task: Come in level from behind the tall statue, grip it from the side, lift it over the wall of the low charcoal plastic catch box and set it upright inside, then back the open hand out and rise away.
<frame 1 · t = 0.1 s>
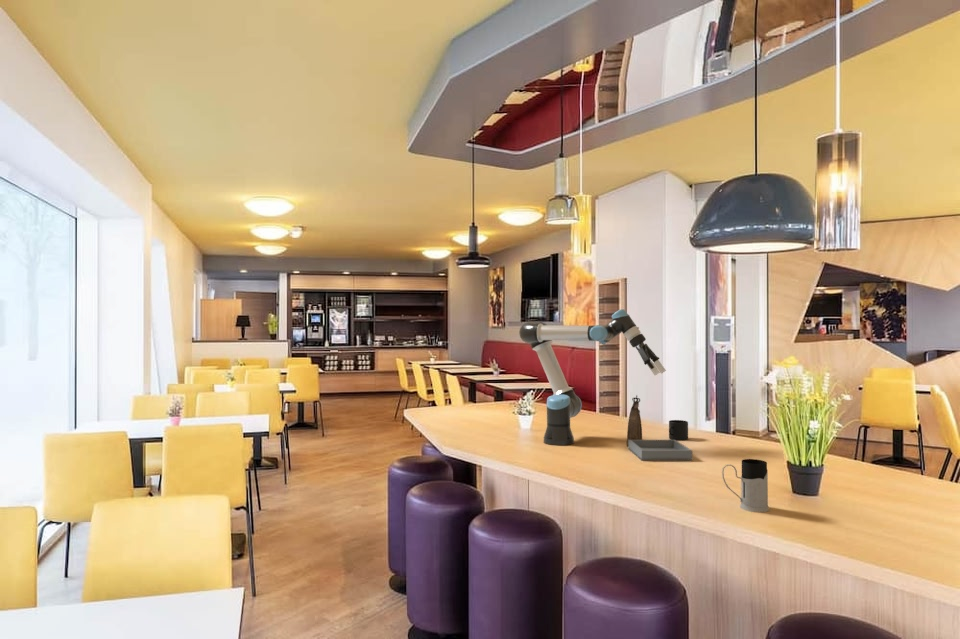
hand: (660, 373, 293), 36 cm above the bar counter, tool tilted 35°, fingers open, 13 cm apart
mug: (676, 439, 312), on the bar counter
statue: (634, 446, 295), on the bar counter
glass holder: (745, 508, 196), on the bar counter
catch box: (659, 454, 275), on the bar counter
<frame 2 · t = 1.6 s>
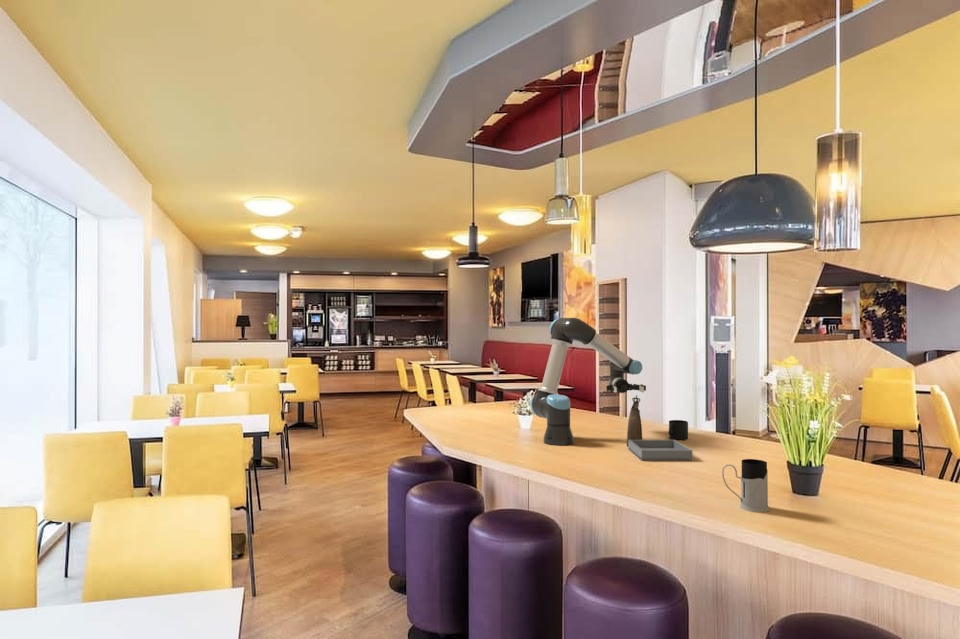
hand: (629, 389, 304), 26 cm above the bar counter, tool horizontal, fingers open, 13 cm apart
nothing on the bar counter moved.
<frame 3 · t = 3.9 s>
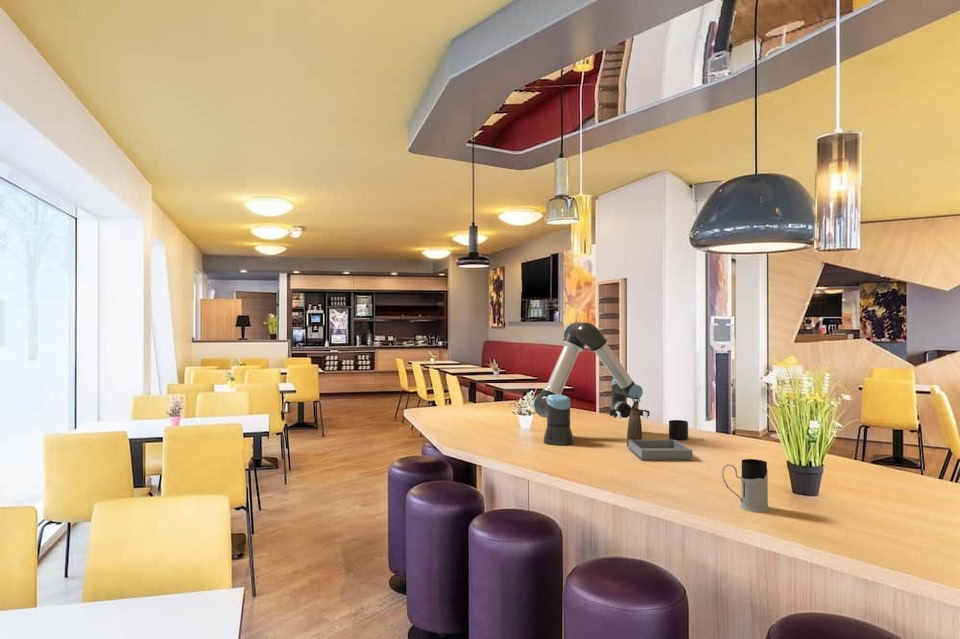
hand: (633, 415, 300), 14 cm above the bar counter, tool horizontal, fingers open, 13 cm apart
nothing on the bar counter moved.
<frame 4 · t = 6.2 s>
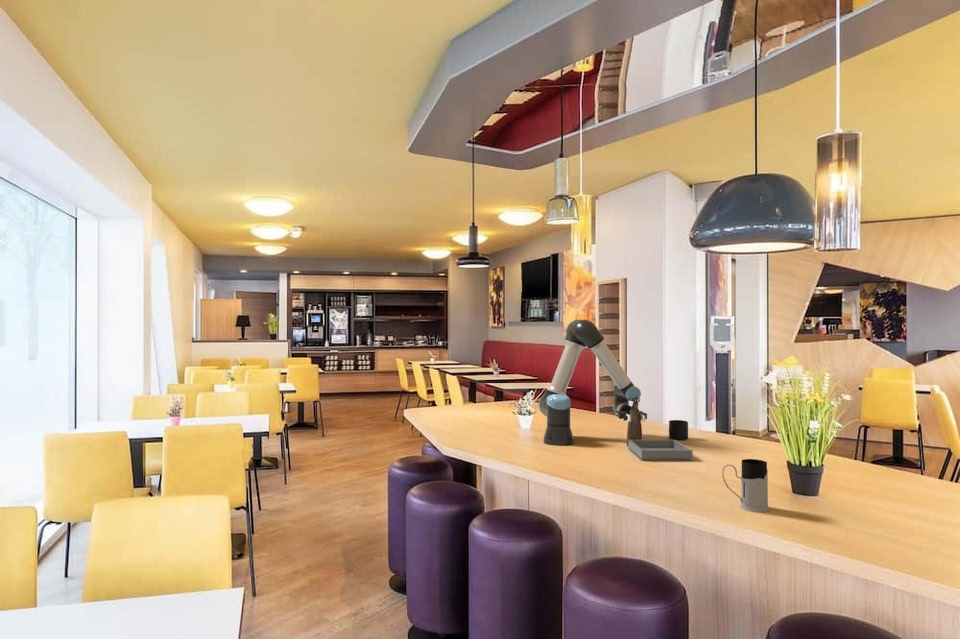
hand: (637, 418, 290), 14 cm above the bar counter, tool horizontal, fingers closed on statue, 6 cm apart
statue: (634, 446, 295), on the bar counter, touching gripper
everything else where it was.
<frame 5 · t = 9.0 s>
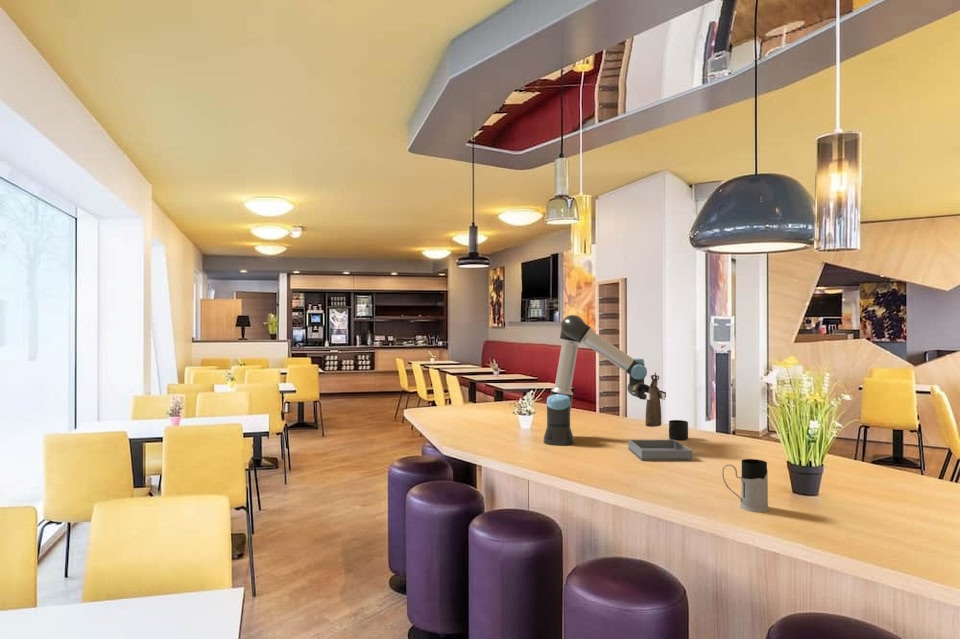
hand: (656, 396, 278), 26 cm above the bar counter, tool horizontal, fingers closed on statue, 6 cm apart
statue: (653, 425, 283), point 12 cm above the bar counter, touching gripper
everything else where it was.
when the fingers open (16 cm above the bar counter, at t = 11.8 s): statue drops 1 cm, resting on catch box.
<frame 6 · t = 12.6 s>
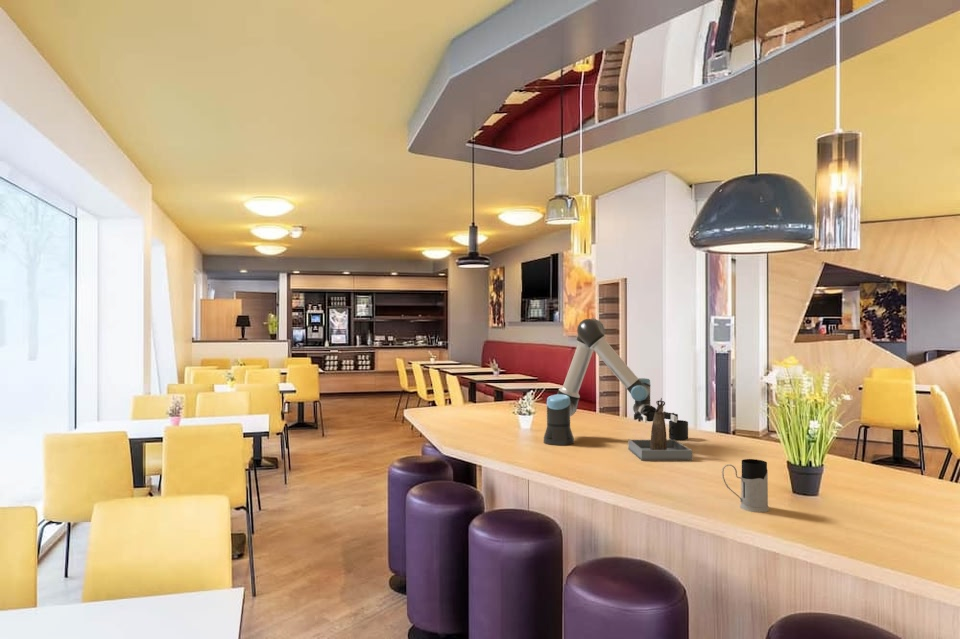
hand: (660, 419, 272), 16 cm above the bar counter, tool horizontal, fingers open, 13 cm apart
statue: (658, 452, 275), point 1 cm above the bar counter, touching catch box
everything else where it was.
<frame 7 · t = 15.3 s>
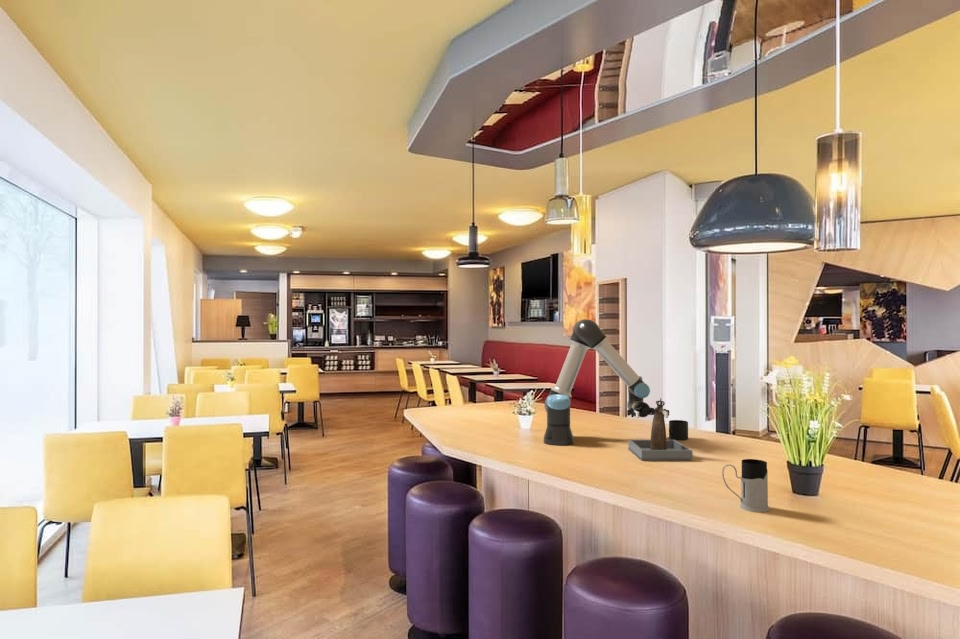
hand: (652, 415, 284), 17 cm above the bar counter, tool horizontal, fingers open, 13 cm apart
nothing on the bar counter moved.
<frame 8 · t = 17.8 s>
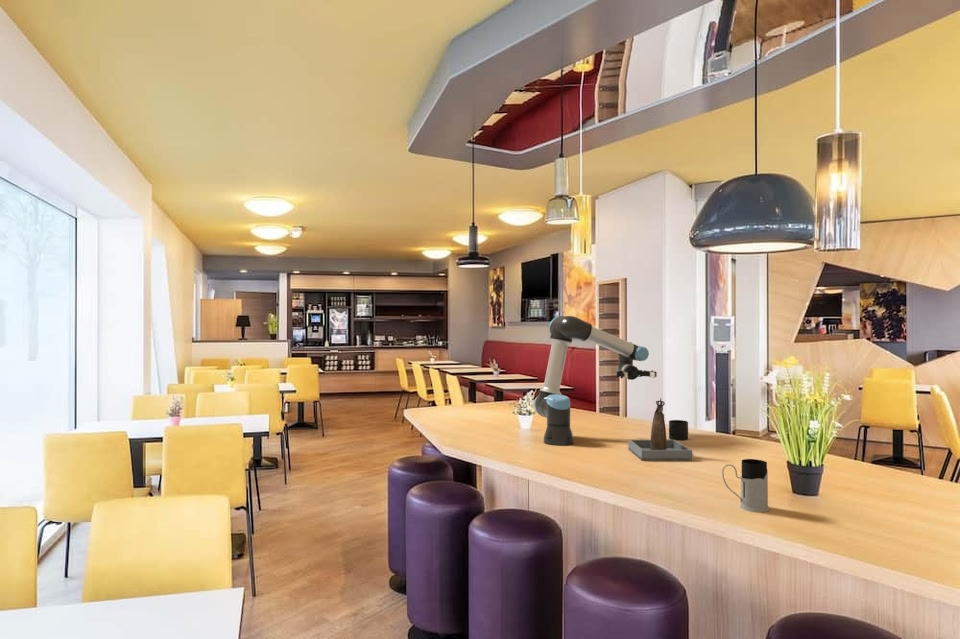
hand: (640, 375, 299), 34 cm above the bar counter, tool horizontal, fingers open, 13 cm apart
nothing on the bar counter moved.
at the end: statue inside the target area on the catch box (0.2 cm from its centre), point 0.8 cm above the catch box's base; statue tilted 0°; the gripper is holding nothing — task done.
